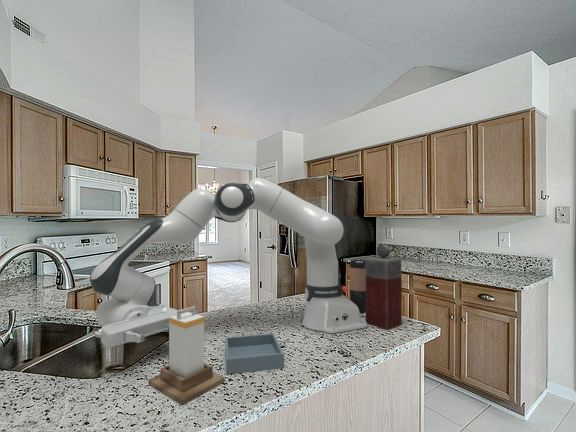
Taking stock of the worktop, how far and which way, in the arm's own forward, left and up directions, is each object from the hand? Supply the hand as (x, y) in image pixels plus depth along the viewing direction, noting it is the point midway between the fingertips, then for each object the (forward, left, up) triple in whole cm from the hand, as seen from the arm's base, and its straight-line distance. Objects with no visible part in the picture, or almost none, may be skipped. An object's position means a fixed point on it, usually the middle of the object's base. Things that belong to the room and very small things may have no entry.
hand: (160, 332), depth 77 cm
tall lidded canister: (-7, +9, -8) cm, 14 cm away
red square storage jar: (-72, -17, -9) cm, 75 cm away
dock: (-7, +9, -9) cm, 14 cm away
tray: (-23, 0, -9) cm, 25 cm away
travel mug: (-70, -33, -9) cm, 78 cm away
